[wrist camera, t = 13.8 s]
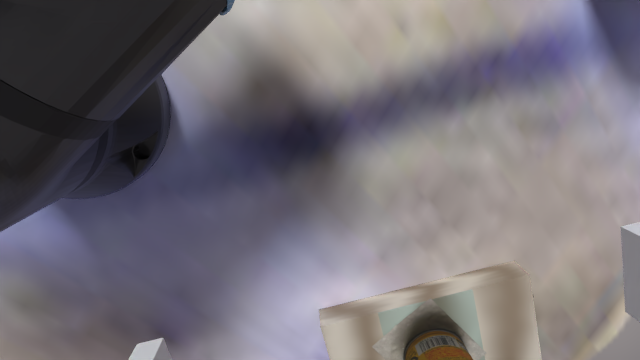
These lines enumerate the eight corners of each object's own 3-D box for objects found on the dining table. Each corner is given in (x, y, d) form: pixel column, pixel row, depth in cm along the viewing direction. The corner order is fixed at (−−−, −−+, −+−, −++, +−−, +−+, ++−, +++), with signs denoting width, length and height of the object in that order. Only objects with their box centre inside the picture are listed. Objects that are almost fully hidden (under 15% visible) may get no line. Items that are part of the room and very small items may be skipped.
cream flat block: (347, 408, 47) (353, 452, 42) (319, 309, 44) (321, 343, 38) (529, 363, 47) (559, 402, 41) (514, 260, 43) (544, 287, 38)
